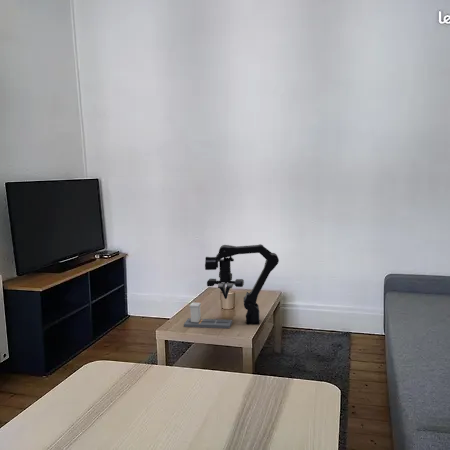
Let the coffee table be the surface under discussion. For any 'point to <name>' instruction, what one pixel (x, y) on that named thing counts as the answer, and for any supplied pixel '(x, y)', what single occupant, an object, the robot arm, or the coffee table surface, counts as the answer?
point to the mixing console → (209, 323)
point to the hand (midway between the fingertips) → (225, 298)
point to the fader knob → (195, 312)
